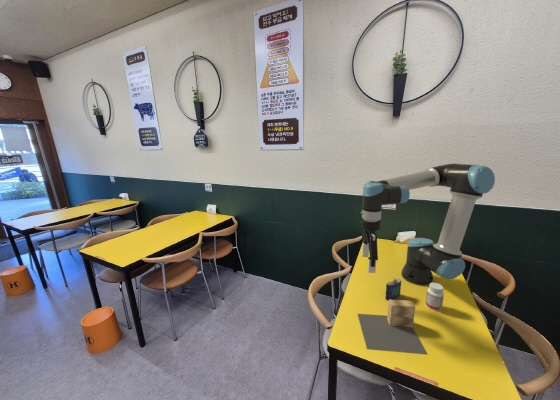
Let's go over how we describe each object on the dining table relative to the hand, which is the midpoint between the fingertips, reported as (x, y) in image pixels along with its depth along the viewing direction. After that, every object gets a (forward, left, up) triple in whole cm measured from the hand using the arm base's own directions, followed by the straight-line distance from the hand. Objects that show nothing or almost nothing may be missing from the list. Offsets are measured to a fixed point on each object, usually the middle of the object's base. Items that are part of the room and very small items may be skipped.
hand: (368, 264), depth 99 cm
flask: (-15, -7, -22) cm, 28 cm away
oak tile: (-12, +10, -22) cm, 27 cm away
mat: (-6, +15, -22) cm, 27 cm away
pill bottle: (-31, -2, -22) cm, 38 cm away
